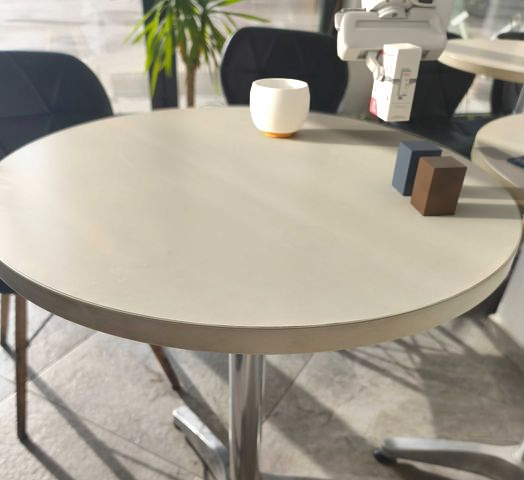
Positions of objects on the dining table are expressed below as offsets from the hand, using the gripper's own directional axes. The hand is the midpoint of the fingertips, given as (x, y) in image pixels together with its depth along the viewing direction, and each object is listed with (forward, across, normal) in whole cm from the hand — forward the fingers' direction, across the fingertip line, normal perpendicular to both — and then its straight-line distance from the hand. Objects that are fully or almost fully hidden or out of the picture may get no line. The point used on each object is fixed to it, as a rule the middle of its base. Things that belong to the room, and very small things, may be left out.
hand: (396, 78), depth 91 cm
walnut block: (+30, -3, -12) cm, 32 cm away
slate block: (+24, -3, -6) cm, 25 cm away
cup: (0, -19, +18) cm, 26 cm away
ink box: (+4, 0, +5) cm, 7 cm away
